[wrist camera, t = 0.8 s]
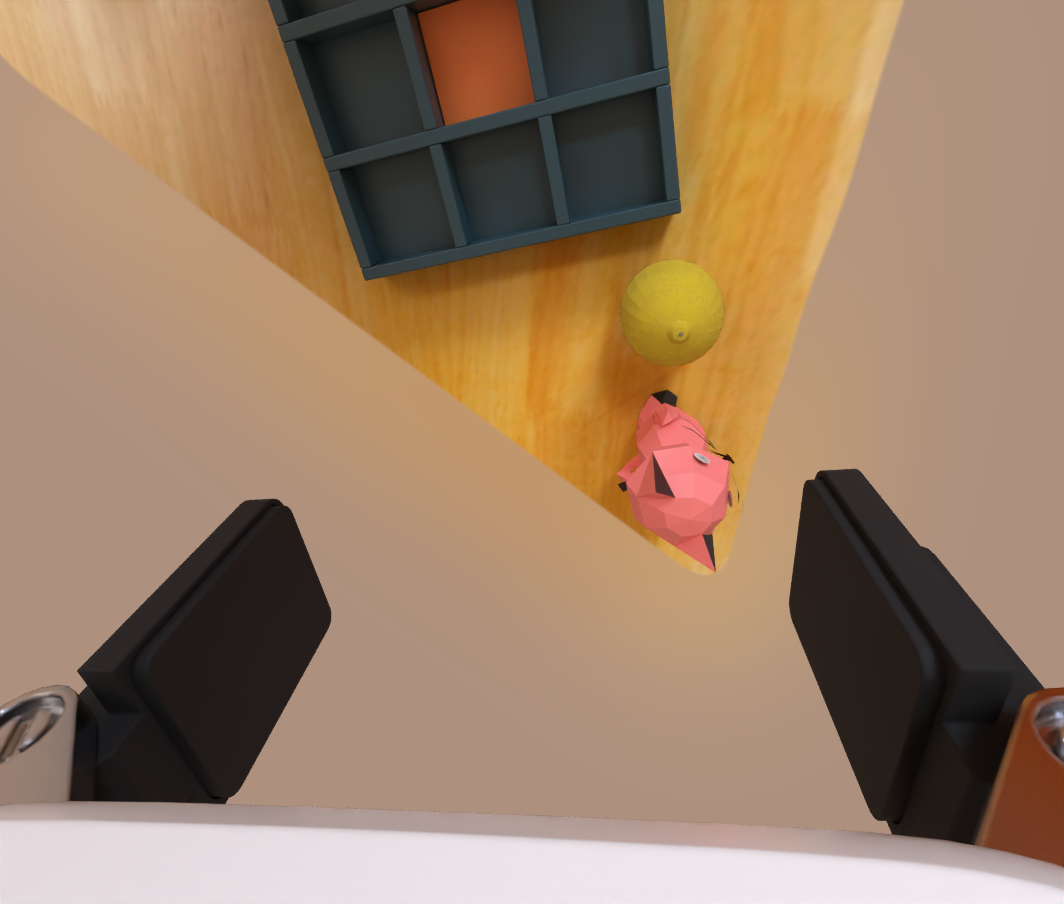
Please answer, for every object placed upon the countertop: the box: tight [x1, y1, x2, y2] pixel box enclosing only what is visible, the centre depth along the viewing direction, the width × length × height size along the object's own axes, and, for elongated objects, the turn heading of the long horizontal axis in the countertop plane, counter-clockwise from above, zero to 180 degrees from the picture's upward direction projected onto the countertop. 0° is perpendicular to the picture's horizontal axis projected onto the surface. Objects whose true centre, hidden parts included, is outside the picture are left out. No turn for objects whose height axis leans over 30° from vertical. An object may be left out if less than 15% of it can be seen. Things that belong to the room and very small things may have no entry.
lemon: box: [620, 259, 724, 367], centre depth 31 cm, size 6×6×8 cm
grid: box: [268, 0, 681, 281], centre depth 28 cm, size 18×18×2 cm
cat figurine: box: [617, 390, 743, 572], centre depth 33 cm, size 7×7×12 cm
